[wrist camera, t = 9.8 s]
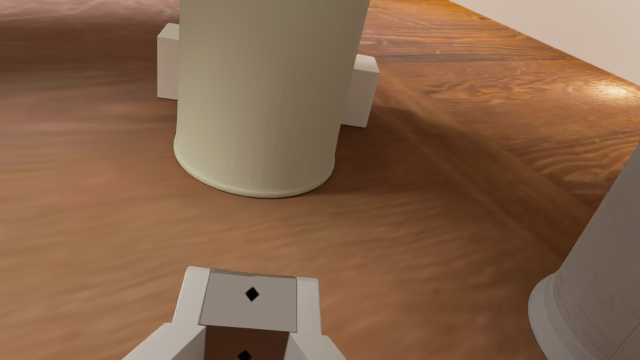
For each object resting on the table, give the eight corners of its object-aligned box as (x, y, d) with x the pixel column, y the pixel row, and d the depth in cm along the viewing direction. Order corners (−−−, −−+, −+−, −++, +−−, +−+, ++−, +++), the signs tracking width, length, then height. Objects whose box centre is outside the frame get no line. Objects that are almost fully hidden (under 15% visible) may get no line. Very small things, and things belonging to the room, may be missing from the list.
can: (154, 120, 28) (152, -111, 22) (291, 110, 33) (322, -84, 26) (204, 213, 22) (222, -72, 16) (363, 184, 27) (428, -45, 20)
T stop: (365, 127, 33) (380, 73, 31) (157, 96, 31) (157, 36, 29) (354, 82, 39) (365, 35, 37) (182, 55, 37) (183, 3, 35)
